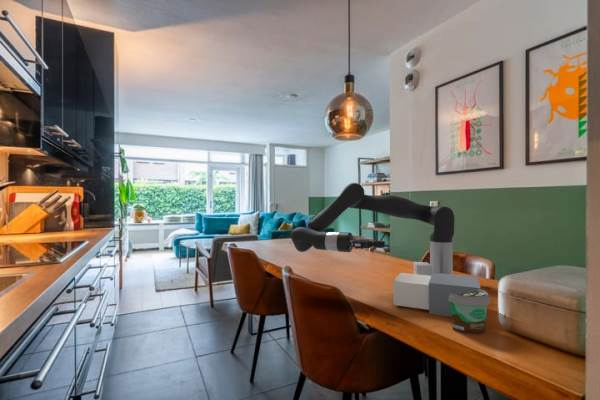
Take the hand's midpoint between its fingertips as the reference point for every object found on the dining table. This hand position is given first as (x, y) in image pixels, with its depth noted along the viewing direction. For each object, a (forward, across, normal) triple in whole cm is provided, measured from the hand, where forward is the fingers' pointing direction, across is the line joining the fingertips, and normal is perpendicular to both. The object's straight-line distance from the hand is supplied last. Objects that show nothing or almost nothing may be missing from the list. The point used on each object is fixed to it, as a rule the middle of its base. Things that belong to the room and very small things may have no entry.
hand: (384, 244), depth 110 cm
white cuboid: (+17, 0, +19) cm, 25 cm away
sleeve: (+22, 0, +20) cm, 30 cm away
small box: (+11, +20, +20) cm, 30 cm away
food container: (+27, -16, +20) cm, 38 cm away
